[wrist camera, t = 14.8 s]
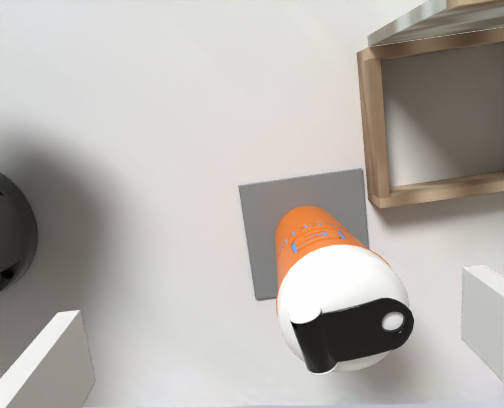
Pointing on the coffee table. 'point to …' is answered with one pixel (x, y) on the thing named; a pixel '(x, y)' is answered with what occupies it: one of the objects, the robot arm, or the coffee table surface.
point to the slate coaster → (288, 198)
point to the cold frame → (412, 28)
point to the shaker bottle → (336, 295)
